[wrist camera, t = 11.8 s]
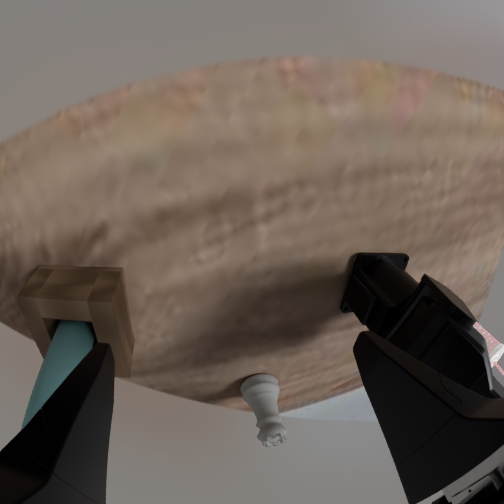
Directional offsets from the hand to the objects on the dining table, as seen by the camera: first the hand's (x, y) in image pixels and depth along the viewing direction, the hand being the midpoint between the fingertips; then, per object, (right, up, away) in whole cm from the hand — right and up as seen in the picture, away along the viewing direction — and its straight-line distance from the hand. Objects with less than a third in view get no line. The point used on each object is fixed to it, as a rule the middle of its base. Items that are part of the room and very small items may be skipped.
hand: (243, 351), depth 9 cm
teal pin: (-14, -2, +12) cm, 19 cm away
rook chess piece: (+1, -12, +22) cm, 25 cm away
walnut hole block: (-14, -1, +13) cm, 19 cm away
